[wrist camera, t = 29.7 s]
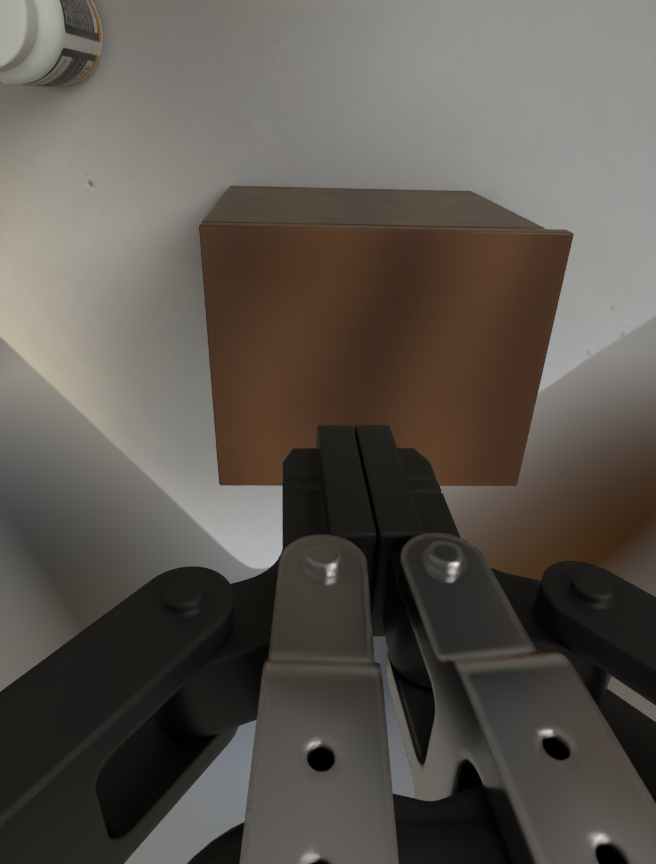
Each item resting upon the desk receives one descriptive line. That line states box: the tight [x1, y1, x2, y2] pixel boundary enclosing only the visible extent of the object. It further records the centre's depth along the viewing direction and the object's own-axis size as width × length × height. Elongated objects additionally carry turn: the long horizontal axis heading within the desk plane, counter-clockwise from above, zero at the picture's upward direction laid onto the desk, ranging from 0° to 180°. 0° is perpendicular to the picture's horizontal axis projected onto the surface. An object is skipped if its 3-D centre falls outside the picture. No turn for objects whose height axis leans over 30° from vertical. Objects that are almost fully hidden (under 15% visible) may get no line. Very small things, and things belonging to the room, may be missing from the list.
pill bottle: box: [0, 0, 103, 87], centre depth 28 cm, size 6×6×10 cm
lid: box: [199, 222, 573, 486], centre depth 29 cm, size 16×14×1 cm
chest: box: [202, 186, 545, 229], centre depth 35 cm, size 16×14×13 cm
